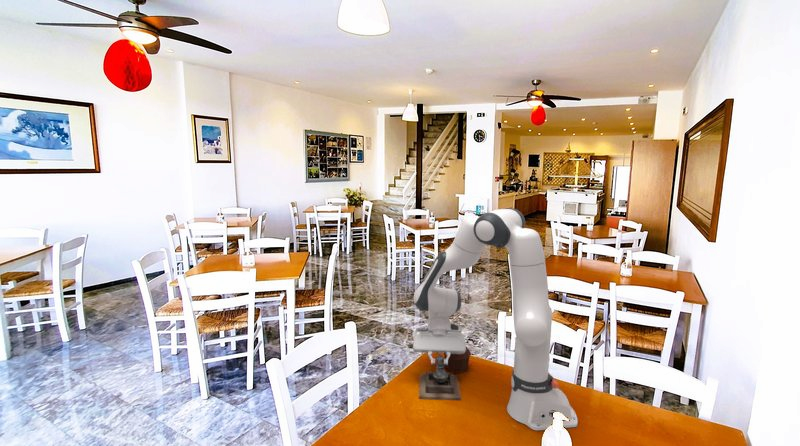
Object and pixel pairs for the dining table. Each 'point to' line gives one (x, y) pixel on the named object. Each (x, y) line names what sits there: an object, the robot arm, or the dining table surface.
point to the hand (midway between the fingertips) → (439, 364)
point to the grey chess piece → (440, 372)
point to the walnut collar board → (439, 388)
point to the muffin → (458, 361)
